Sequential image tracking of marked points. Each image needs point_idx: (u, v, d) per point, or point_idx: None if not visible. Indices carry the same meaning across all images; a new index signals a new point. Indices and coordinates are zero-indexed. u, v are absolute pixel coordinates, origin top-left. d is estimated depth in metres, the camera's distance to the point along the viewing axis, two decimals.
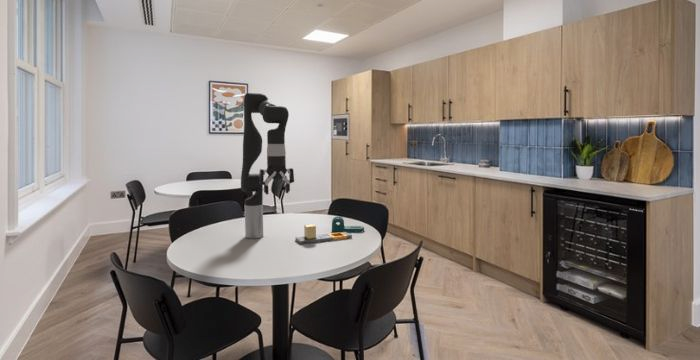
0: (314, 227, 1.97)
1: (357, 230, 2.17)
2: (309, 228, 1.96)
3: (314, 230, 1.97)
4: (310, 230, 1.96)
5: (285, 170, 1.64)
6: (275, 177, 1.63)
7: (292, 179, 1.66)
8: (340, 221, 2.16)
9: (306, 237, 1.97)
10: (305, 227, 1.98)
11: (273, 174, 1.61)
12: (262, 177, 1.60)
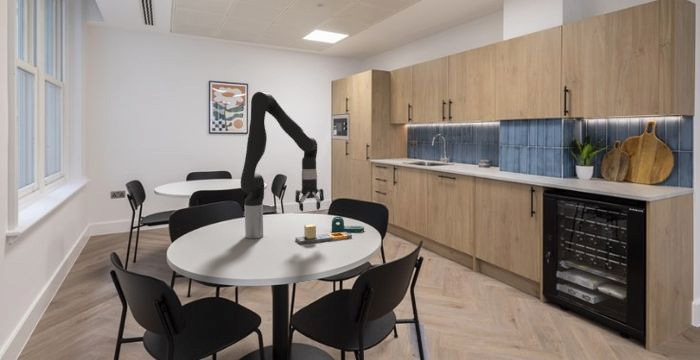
0: (314, 227, 1.97)
1: (357, 230, 2.17)
2: (309, 228, 1.96)
3: (314, 230, 1.97)
4: (310, 230, 1.96)
5: (316, 190, 1.96)
6: (308, 196, 1.95)
7: (322, 198, 1.98)
8: (340, 221, 2.16)
9: (306, 237, 1.97)
10: (305, 227, 1.98)
11: (307, 194, 1.94)
12: (298, 197, 1.92)
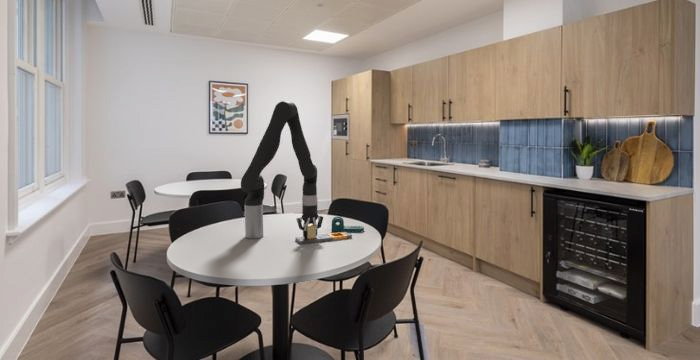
0: (314, 227, 1.97)
1: (357, 230, 2.17)
2: (309, 228, 1.96)
3: (314, 230, 1.97)
4: (310, 230, 1.96)
5: (317, 216, 1.98)
6: (310, 221, 1.97)
7: (319, 225, 1.99)
8: (340, 221, 2.16)
9: None
10: None
11: (308, 220, 1.95)
12: (300, 224, 1.94)
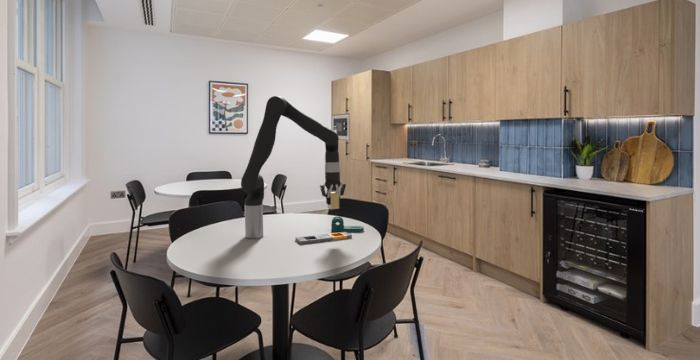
0: (337, 194, 1.99)
1: (357, 230, 2.17)
2: (332, 195, 1.98)
3: (337, 197, 2.00)
4: (333, 197, 1.99)
5: (339, 183, 2.01)
6: (333, 188, 2.00)
7: (342, 192, 2.02)
8: (340, 221, 2.16)
9: None
10: None
11: (331, 187, 1.98)
12: (324, 191, 1.97)
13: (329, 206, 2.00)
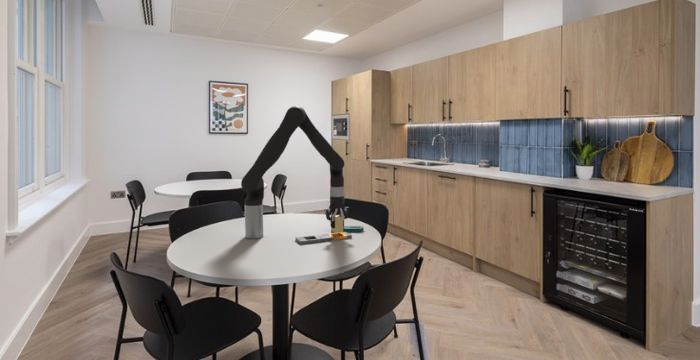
0: (341, 218, 2.03)
1: (356, 230, 2.17)
2: (337, 219, 2.02)
3: (341, 221, 2.03)
4: (338, 220, 2.02)
5: (344, 207, 2.04)
6: (337, 212, 2.03)
7: (346, 216, 2.05)
8: None
9: (334, 227, 2.03)
10: None
11: (335, 211, 2.01)
12: (328, 215, 2.00)
13: (333, 229, 2.03)
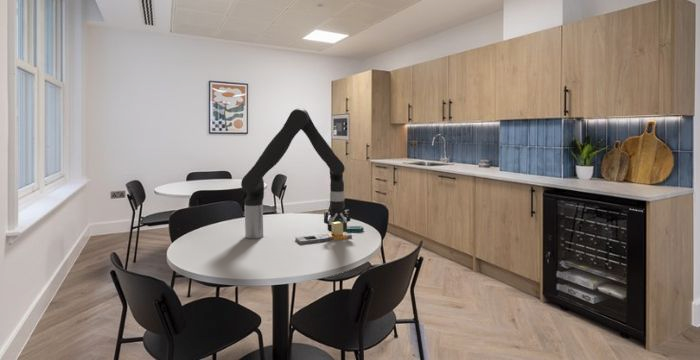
0: (341, 224, 2.03)
1: (356, 230, 2.17)
2: (337, 225, 2.02)
3: (341, 227, 2.03)
4: (337, 227, 2.02)
5: (344, 211, 2.04)
6: (336, 217, 2.03)
7: (349, 218, 2.06)
8: (339, 221, 2.16)
9: (333, 234, 2.03)
10: (332, 224, 2.04)
11: (335, 215, 2.02)
12: (327, 218, 2.00)
13: None
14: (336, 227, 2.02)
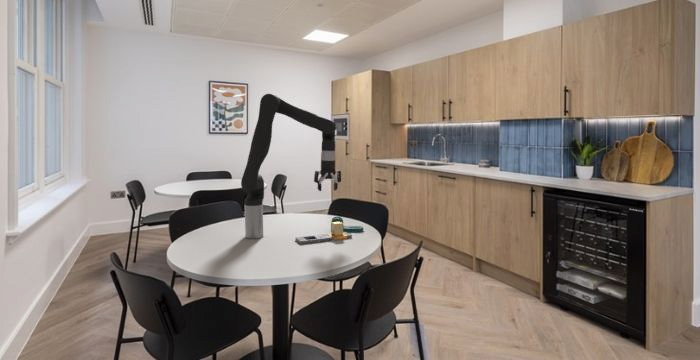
0: (341, 224, 2.03)
1: (356, 230, 2.17)
2: (337, 225, 2.02)
3: (341, 227, 2.03)
4: (337, 227, 2.02)
5: (334, 172, 2.04)
6: (327, 177, 2.02)
7: (339, 179, 2.06)
8: (339, 221, 2.16)
9: (333, 234, 2.03)
10: (332, 224, 2.04)
11: (325, 175, 2.01)
12: (317, 177, 2.00)
13: None
14: (336, 227, 2.02)
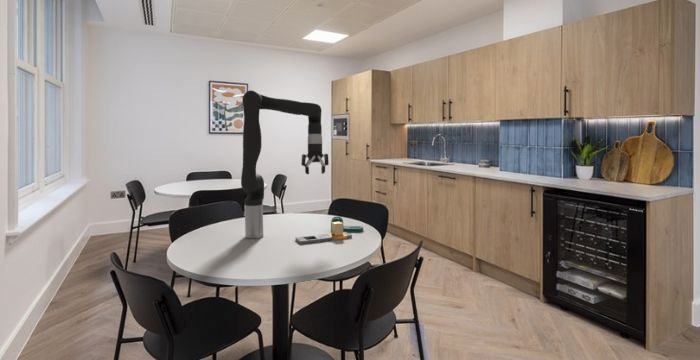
0: (341, 224, 2.03)
1: (356, 230, 2.17)
2: (337, 225, 2.02)
3: (341, 227, 2.03)
4: (337, 227, 2.02)
5: (322, 155, 2.05)
6: (314, 160, 2.04)
7: (327, 162, 2.07)
8: (339, 221, 2.16)
9: (333, 234, 2.03)
10: (332, 224, 2.04)
11: (313, 158, 2.03)
12: (304, 160, 2.01)
13: None
14: (336, 227, 2.02)
